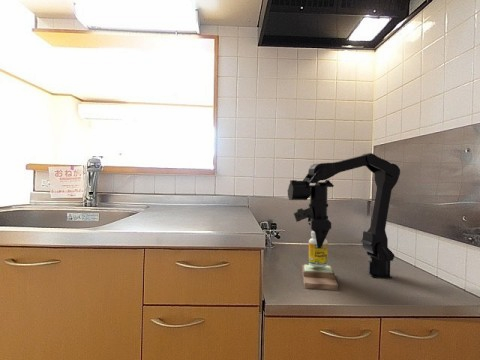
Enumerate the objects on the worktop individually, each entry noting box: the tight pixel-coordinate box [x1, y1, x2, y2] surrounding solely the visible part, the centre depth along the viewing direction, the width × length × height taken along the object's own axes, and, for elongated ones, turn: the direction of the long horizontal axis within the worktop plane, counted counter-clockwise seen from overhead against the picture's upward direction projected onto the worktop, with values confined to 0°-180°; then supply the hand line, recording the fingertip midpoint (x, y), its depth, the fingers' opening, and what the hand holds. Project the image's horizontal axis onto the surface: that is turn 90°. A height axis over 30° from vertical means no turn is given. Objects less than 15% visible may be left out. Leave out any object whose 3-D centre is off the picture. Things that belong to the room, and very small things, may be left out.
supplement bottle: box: [308, 230, 329, 267], centre depth 114 cm, size 6×6×11 cm
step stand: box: [301, 264, 339, 291], centre depth 111 cm, size 10×16×3 cm, turn 172°
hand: (318, 245), depth 114 cm, fingers closed on supplement bottle, 6 cm apart
